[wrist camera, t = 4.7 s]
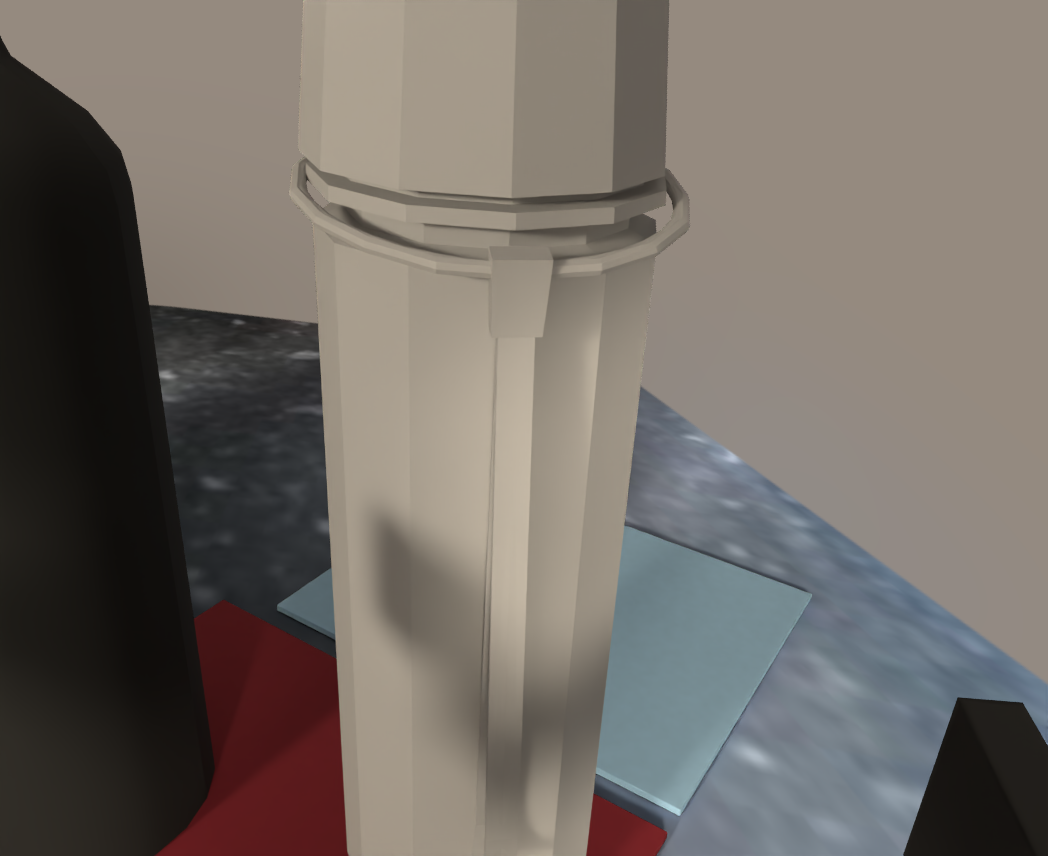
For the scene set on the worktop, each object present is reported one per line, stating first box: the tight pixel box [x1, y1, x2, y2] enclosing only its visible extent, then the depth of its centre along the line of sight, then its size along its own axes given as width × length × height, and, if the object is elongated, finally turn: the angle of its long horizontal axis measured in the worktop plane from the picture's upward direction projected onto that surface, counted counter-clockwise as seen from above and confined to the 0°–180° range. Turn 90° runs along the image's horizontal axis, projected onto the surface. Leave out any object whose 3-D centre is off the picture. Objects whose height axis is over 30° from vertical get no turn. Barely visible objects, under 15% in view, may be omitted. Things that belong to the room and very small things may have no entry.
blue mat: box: [277, 525, 812, 816], centre depth 40 cm, size 18×14×1 cm
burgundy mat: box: [155, 600, 667, 856], centre depth 29 cm, size 20×14×1 cm
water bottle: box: [289, 0, 690, 856], centre depth 22 cm, size 9×8×25 cm
